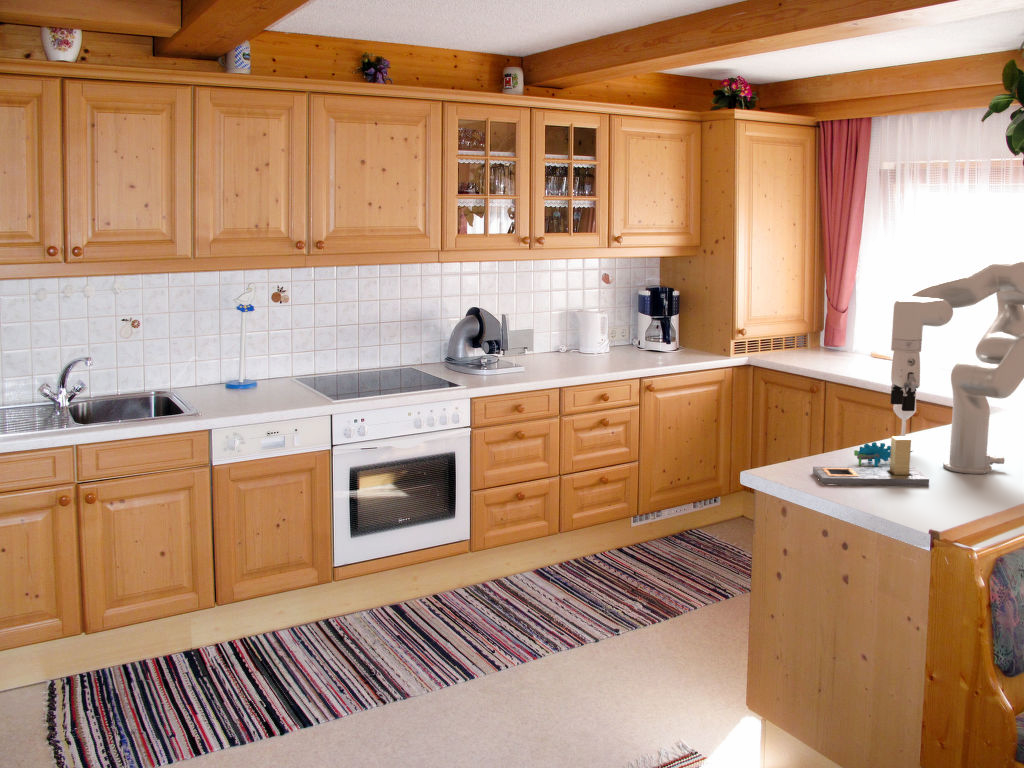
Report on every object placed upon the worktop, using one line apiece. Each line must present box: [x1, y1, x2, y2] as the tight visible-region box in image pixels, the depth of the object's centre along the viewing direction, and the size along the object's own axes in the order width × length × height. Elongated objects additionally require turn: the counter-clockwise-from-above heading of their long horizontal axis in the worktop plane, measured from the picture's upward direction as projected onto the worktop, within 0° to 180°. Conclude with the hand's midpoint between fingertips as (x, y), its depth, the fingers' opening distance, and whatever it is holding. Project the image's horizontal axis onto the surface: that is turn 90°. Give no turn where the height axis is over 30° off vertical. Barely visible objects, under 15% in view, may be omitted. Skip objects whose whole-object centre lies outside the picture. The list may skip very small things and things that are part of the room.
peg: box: [889, 435, 912, 476], centre depth 256 cm, size 4×4×12 cm
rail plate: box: [812, 466, 930, 487], centre depth 257 cm, size 28×12×2 cm, turn 84°
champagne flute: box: [892, 389, 917, 451], centre depth 289 cm, size 7×7×24 cm
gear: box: [853, 441, 891, 467], centre depth 272 cm, size 11×6×10 cm
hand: (902, 407), depth 253 cm, fingers open, 9 cm apart
